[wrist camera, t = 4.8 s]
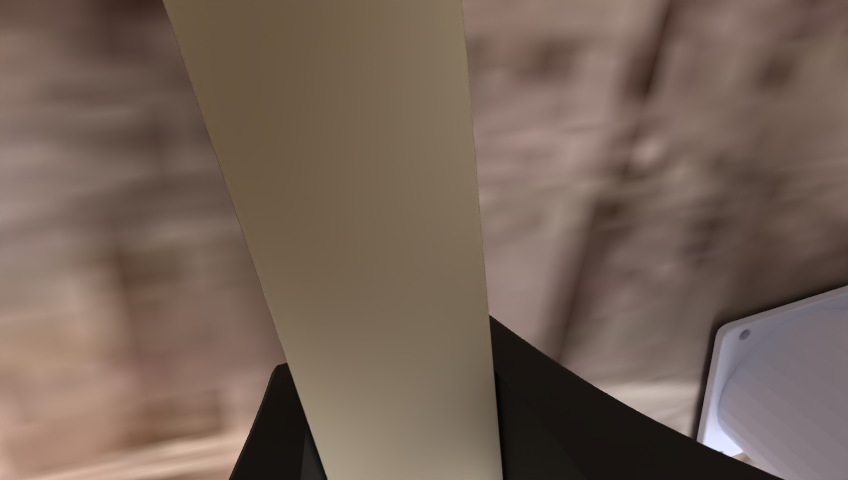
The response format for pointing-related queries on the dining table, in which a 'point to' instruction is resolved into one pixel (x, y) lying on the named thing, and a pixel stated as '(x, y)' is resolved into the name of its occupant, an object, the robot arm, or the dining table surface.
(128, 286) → the dining table surface
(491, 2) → the dining table surface
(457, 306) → the beige tapered strip
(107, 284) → the dining table surface
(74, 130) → the dining table surface
